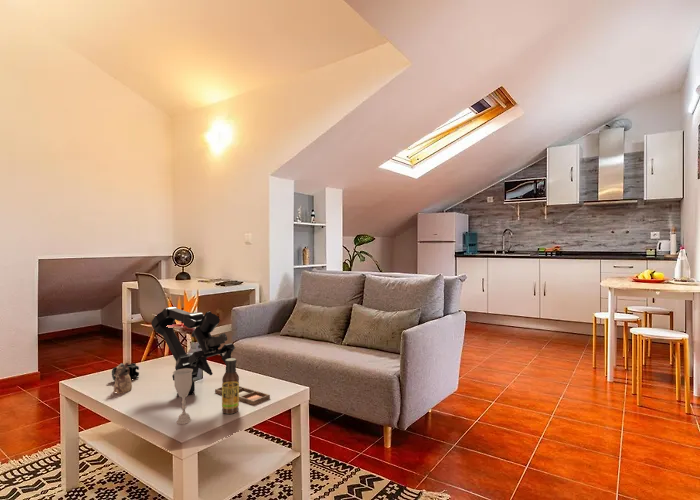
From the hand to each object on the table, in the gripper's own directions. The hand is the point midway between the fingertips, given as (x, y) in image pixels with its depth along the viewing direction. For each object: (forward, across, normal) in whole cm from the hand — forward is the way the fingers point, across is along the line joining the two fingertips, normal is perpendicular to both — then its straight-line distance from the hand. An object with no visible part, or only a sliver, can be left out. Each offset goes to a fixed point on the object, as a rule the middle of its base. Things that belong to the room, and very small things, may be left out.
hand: (221, 371), depth 167 cm
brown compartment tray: (+8, +12, +10) cm, 18 cm away
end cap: (-34, -5, +59) cm, 68 cm away
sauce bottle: (+15, -2, +3) cm, 16 cm away
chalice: (+11, -17, +8) cm, 22 cm away
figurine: (-25, -13, +48) cm, 55 cm away
